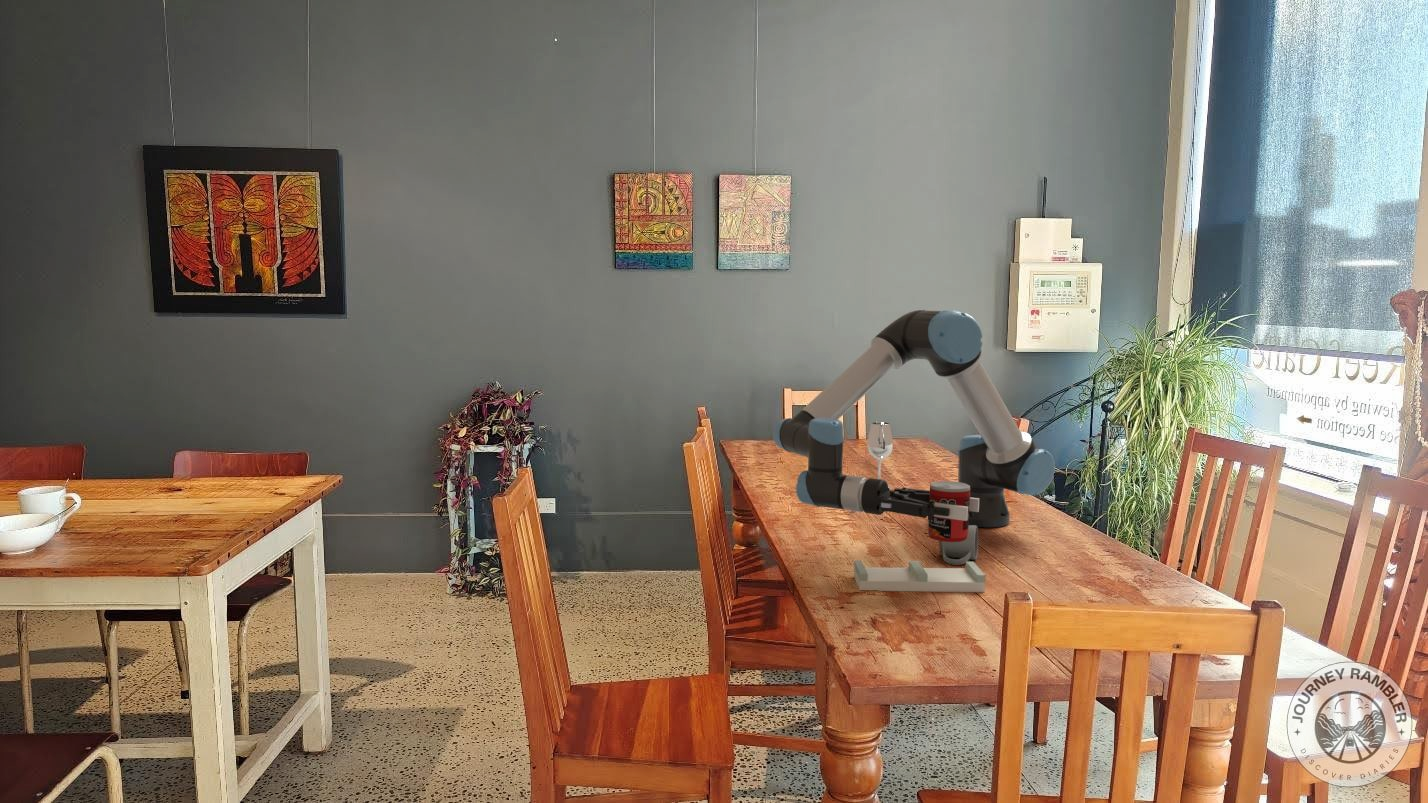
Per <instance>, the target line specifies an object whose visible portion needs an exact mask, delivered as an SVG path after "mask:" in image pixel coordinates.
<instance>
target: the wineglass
mask: <svg viewBox="0 0 1428 803" xmlns="http://www.w3.org/2000/svg"><path fill="white" fill-rule="evenodd" d="M893 442H894V441H893V435H892V429H891V423H889V422H884V421H883V422H882V421H874V422H871V425H870V428H869V434H868V439H867V445H866V446H867V450H868V453H869V454H870V455H871V456H872V457H873V458H874V459H877V463H878V465H877V466H878V471H877V472H878V473H877V479H881V473H882V472H881V471H882V470H881V468H882V461H883V460H884V459H886V458H888V457H889V456H890V455H891V453H892V451H893V448H894V447H893V446H894V445H893V444H894V443H893ZM887 484H888V488H889V489H890V488H892V485H891V484H889V483H887Z"/></svg>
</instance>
